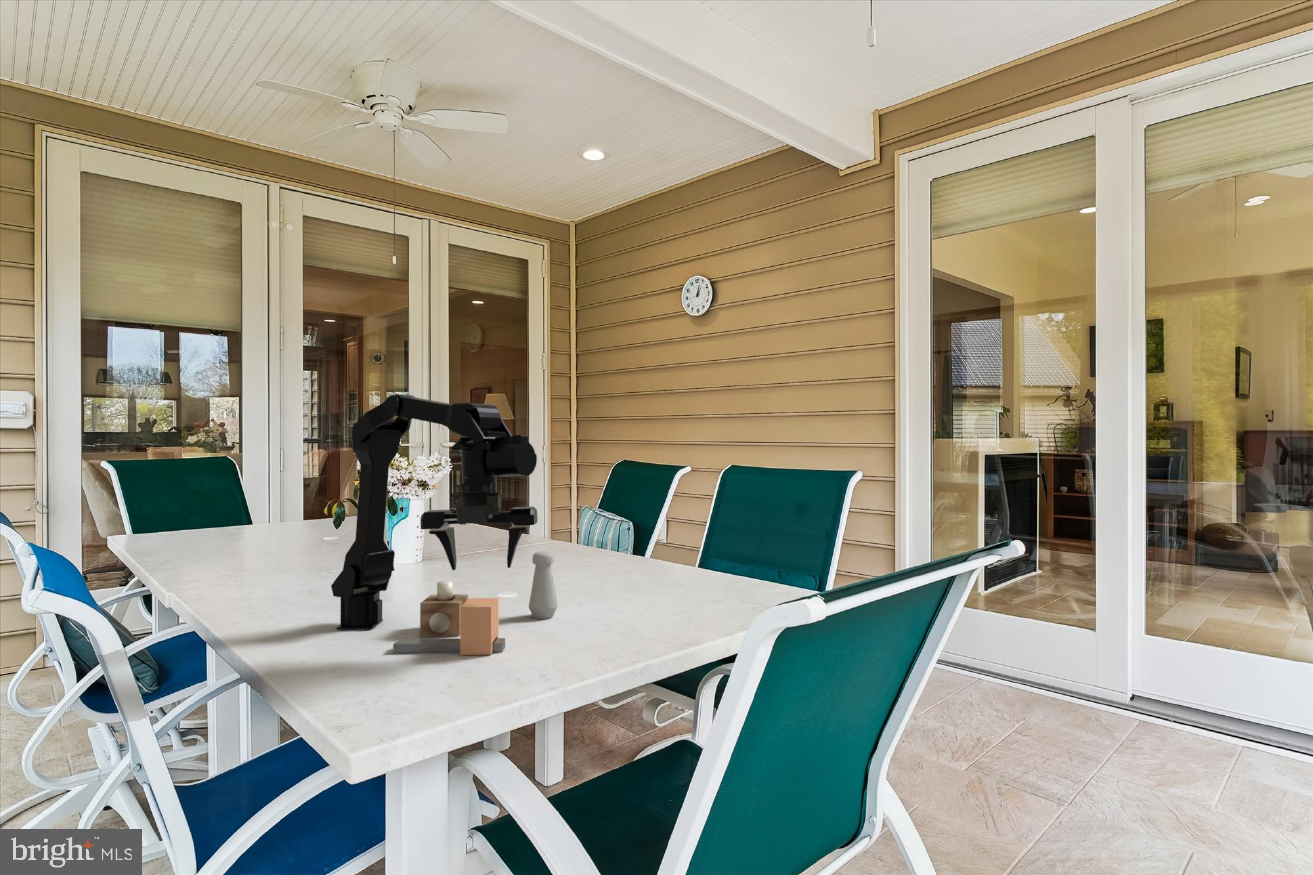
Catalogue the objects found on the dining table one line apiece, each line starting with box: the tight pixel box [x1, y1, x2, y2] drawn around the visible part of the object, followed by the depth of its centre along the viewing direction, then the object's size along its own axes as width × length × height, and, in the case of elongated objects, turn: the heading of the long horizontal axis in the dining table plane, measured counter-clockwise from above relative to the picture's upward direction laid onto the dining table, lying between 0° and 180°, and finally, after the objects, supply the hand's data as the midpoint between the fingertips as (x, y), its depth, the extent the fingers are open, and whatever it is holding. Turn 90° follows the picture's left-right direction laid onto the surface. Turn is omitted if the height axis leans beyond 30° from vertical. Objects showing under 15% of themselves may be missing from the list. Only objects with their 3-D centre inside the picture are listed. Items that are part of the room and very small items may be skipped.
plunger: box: [436, 580, 454, 600], centre depth 129 cm, size 3×3×3 cm
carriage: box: [459, 597, 500, 656], centre depth 118 cm, size 5×7×8 cm
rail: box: [392, 637, 506, 654], centre depth 117 cm, size 18×3×2 cm, turn 92°
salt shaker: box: [528, 550, 559, 620], centre depth 140 cm, size 6×6×13 cm
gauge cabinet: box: [419, 593, 469, 637], centre depth 129 cm, size 7×7×6 cm
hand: (481, 568), depth 118 cm, fingers open, 9 cm apart
